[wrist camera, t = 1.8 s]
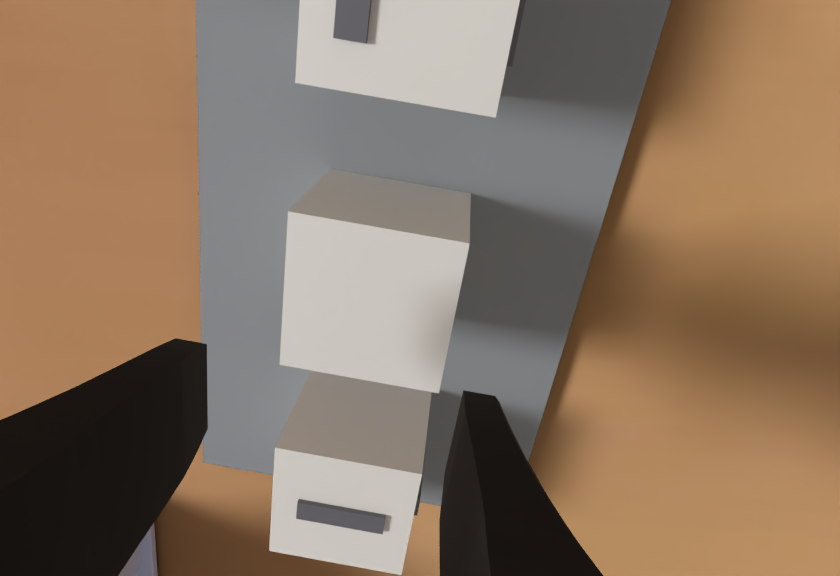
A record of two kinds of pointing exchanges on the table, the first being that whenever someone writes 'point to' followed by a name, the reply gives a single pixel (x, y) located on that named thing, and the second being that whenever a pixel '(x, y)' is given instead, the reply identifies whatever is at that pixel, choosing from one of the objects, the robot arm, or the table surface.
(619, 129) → the slate mat
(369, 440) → the block
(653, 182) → the table surface
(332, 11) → the block
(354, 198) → the plain block
